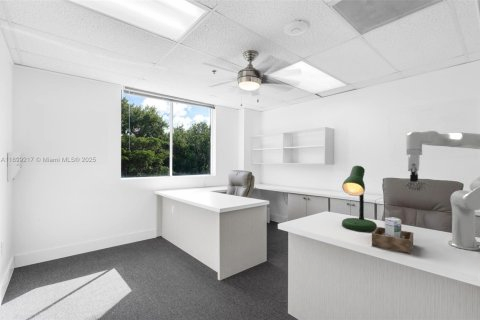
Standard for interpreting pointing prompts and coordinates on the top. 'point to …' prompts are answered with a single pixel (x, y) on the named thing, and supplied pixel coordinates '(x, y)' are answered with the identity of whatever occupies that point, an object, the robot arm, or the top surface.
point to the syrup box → (393, 227)
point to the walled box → (393, 241)
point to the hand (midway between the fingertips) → (414, 181)
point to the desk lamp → (357, 188)
